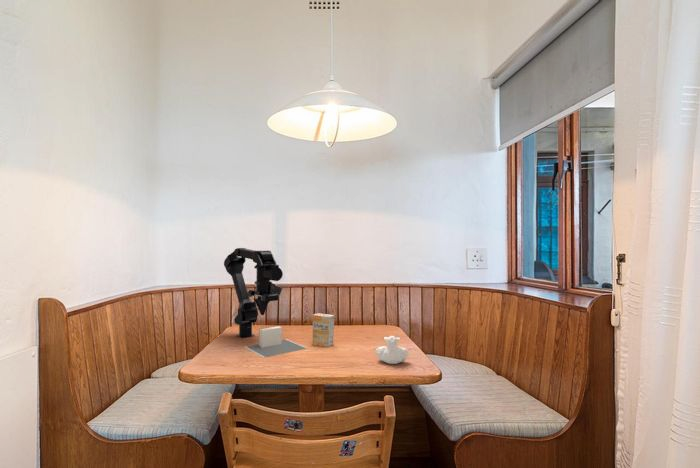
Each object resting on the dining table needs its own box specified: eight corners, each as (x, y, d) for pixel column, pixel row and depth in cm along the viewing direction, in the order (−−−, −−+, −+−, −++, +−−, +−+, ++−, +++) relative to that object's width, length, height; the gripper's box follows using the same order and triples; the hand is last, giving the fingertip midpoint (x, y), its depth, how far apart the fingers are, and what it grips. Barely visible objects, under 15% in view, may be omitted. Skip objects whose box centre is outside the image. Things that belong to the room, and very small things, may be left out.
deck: (258, 345, 156) (259, 329, 156) (278, 342, 162) (278, 326, 162) (262, 347, 154) (262, 330, 154) (281, 343, 159) (281, 327, 160)
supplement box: (311, 345, 159) (312, 314, 159) (317, 342, 163) (317, 312, 163) (328, 348, 155) (329, 316, 155) (334, 345, 159) (334, 314, 160)
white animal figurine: (375, 368, 138) (374, 349, 131) (376, 350, 144) (375, 331, 137) (408, 369, 136) (409, 350, 129) (408, 352, 142) (408, 333, 135)
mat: (243, 347, 155) (243, 346, 155) (286, 340, 167) (286, 339, 167) (263, 358, 141) (263, 357, 141) (308, 349, 153) (308, 348, 153)
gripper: (289, 280, 162) (289, 316, 162) (270, 276, 177) (269, 309, 176) (266, 281, 155) (265, 319, 155) (247, 277, 170) (247, 312, 169)
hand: (262, 314), depth 164 cm, fingers closed
